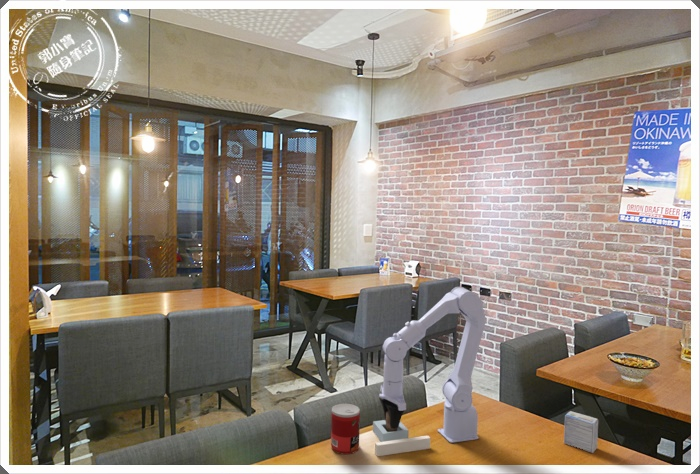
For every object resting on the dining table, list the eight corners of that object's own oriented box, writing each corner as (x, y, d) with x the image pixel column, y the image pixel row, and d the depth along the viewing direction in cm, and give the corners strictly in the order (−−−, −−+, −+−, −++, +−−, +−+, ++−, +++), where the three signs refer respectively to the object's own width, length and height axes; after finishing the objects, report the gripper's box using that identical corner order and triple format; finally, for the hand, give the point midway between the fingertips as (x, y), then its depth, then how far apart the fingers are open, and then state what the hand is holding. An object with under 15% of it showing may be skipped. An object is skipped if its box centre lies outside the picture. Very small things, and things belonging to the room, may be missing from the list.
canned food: (356, 456, 122) (357, 416, 122) (327, 452, 124) (328, 413, 123) (361, 442, 130) (362, 405, 129) (334, 439, 131) (335, 402, 131)
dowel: (394, 426, 135) (395, 409, 135) (399, 431, 132) (399, 414, 132) (383, 427, 134) (384, 411, 134) (388, 432, 131) (388, 416, 131)
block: (397, 427, 139) (397, 418, 139) (408, 440, 132) (408, 430, 131) (372, 431, 137) (373, 421, 137) (382, 444, 129) (382, 433, 129)
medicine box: (597, 448, 130) (599, 418, 129) (593, 454, 126) (594, 423, 126) (568, 438, 135) (569, 410, 135) (563, 443, 132) (564, 414, 131)
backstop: (427, 445, 129) (427, 435, 129) (430, 448, 127) (430, 438, 127) (374, 453, 124) (375, 442, 124) (376, 456, 122) (377, 445, 122)
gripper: (371, 371, 138) (370, 415, 139) (390, 389, 124) (388, 437, 125) (393, 370, 140) (391, 413, 141) (413, 387, 126) (412, 434, 127)
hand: (391, 424), depth 133 cm, fingers closed on dowel, 3 cm apart
